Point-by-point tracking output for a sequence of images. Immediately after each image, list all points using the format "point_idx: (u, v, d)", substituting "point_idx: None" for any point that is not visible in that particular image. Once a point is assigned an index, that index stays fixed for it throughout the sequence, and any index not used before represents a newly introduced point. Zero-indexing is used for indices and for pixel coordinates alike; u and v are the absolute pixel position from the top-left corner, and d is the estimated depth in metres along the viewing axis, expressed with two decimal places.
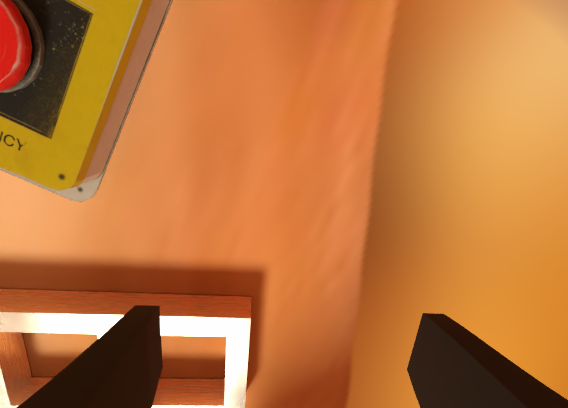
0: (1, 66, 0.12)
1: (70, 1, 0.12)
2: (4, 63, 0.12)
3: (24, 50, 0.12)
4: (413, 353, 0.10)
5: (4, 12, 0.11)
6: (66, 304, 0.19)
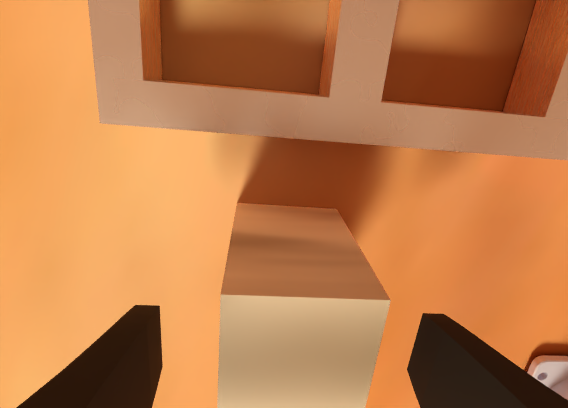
0: None
1: None
2: None
3: None
4: (413, 353, 0.10)
5: None
6: None
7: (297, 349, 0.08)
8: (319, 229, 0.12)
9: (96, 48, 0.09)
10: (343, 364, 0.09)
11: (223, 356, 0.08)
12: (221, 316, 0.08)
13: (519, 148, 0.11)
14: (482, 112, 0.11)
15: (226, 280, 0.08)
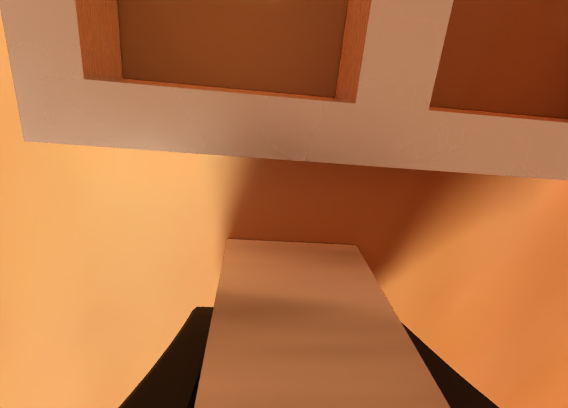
0: None
1: None
2: None
3: None
4: None
5: None
6: None
7: None
8: (337, 283, 0.08)
9: (10, 30, 0.06)
10: None
11: None
12: None
13: None
14: None
15: (200, 400, 0.05)
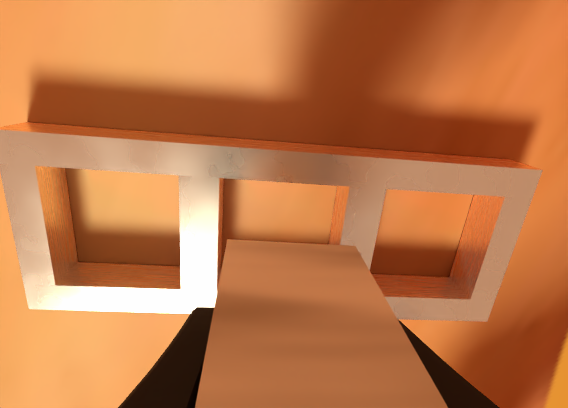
0: None
1: None
2: None
3: None
4: None
5: None
6: (307, 149, 0.14)
7: None
8: (336, 283, 0.09)
9: (23, 270, 0.14)
10: None
11: None
12: None
13: None
14: None
15: (202, 399, 0.05)
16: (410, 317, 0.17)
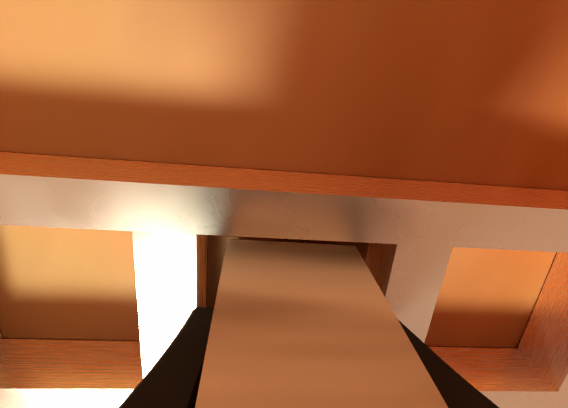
0: None
1: None
2: None
3: None
4: None
5: None
6: (333, 186, 0.09)
7: None
8: (336, 283, 0.09)
9: None
10: None
11: None
12: None
13: None
14: None
15: (202, 398, 0.05)
16: None
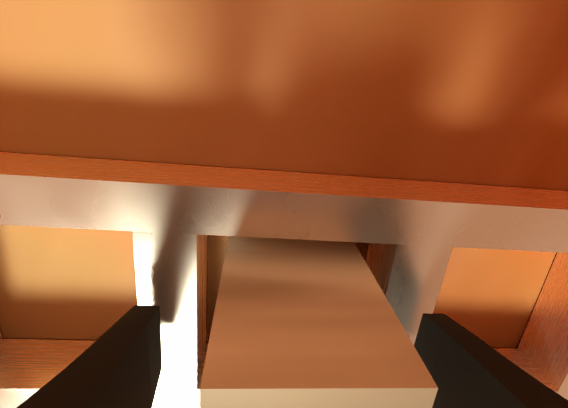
0: None
1: None
2: None
3: None
4: None
5: None
6: (333, 186, 0.09)
7: None
8: (331, 267, 0.09)
9: None
10: None
11: None
12: None
13: None
14: None
15: (209, 360, 0.06)
16: None
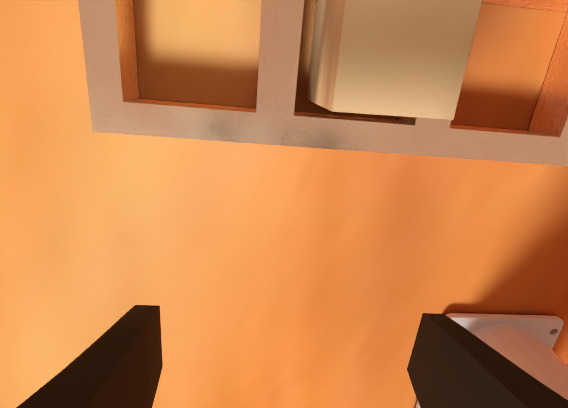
0: None
1: None
2: None
3: None
4: (413, 353, 0.10)
5: None
6: None
7: (407, 29, 0.10)
8: None
9: (89, 80, 0.13)
10: (443, 49, 0.10)
11: (344, 34, 0.10)
12: None
13: (399, 148, 0.15)
14: (368, 122, 0.15)
15: None
16: (495, 158, 0.16)
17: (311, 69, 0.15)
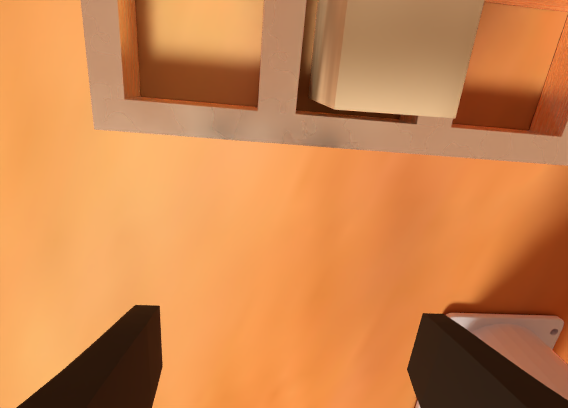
0: None
1: None
2: None
3: None
4: (413, 353, 0.10)
5: None
6: None
7: (409, 27, 0.10)
8: None
9: (91, 77, 0.13)
10: (445, 48, 0.10)
11: (347, 32, 0.10)
12: None
13: (400, 147, 0.15)
14: (370, 121, 0.15)
15: None
16: (496, 157, 0.16)
17: (313, 68, 0.15)
